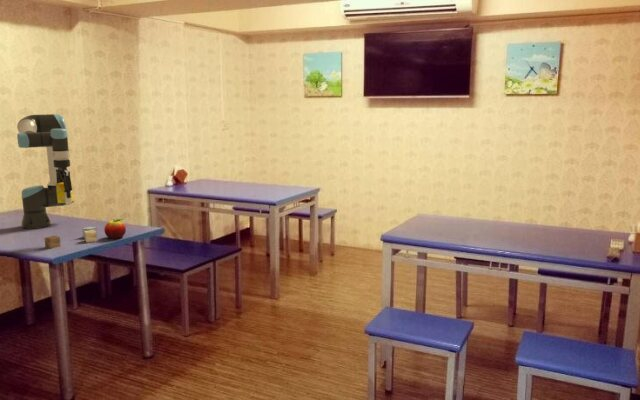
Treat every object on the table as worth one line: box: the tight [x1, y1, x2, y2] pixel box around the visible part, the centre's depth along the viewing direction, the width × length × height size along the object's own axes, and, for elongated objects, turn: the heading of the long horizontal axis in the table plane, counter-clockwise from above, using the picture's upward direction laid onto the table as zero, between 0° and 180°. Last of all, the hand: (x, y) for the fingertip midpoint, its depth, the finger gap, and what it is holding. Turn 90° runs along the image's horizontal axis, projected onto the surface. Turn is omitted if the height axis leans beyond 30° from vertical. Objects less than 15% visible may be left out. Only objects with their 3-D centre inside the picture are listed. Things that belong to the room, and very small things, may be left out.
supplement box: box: [56, 181, 75, 206], centre depth 269 cm, size 6×6×11 cm
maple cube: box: [84, 230, 98, 243], centre depth 273 cm, size 5×5×5 cm
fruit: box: [103, 218, 127, 240], centre depth 279 cm, size 11×11×10 cm
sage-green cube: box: [82, 226, 98, 239], centre depth 282 cm, size 5×5×5 cm
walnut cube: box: [44, 235, 61, 249], centre depth 263 cm, size 5×5×5 cm
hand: (65, 202), depth 270 cm, fingers closed on supplement box, 8 cm apart
